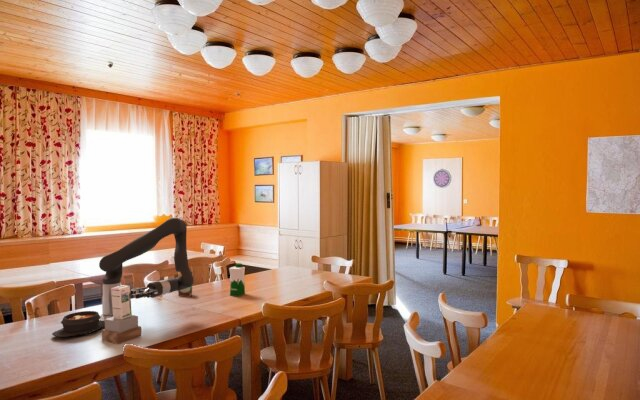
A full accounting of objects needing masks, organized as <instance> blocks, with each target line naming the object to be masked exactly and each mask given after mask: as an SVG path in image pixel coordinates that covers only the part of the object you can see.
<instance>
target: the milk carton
mask: <svg viewBox="0 0 640 400" xmlns="http://www.w3.org/2000/svg"><path fill="white" fill-rule="evenodd" d="M245 269H246V267H245V266H243V264H242V263H241V262H240V263H235V266H231V267H229V268H228V271H229V275H230V276H229V280H230V281H229V282H230V283H229V285H230V288H229V296H233V297H241V296H243V295H245V294H246V291H245V289H246V288H245V285H246V284H245V271H246V270H245Z"/></svg>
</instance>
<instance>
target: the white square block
mask: <svg viewBox="0 0 640 400" xmlns="http://www.w3.org/2000/svg"><path fill="white" fill-rule="evenodd" d="M104 321H105V326H104V329H105V330H108V331H112V332H117V333H121V332H124V331H127V330H130V329H133V328H136V327H138V326H139V315H133V314H132V316H130V317H127V318H124V319H122V320H121V319H114V318H113V316H110V317H106V318H104Z"/></svg>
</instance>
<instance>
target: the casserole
mask: <svg viewBox="0 0 640 400" xmlns="http://www.w3.org/2000/svg"><path fill="white" fill-rule="evenodd" d="M101 316H102V315H100V314H99V312H98V311H95V310H85V311H84V310H83V311H82V310H81V311H78V312H77V311H75V312H72V313H69V314H66V315H64V316H63V318H62V320H61V321H60V324H61V325H62V328H60V329H58V330H56V331H54V332H52V334H51V335H52V336H53V337H58V338H67V337H68V338H69V337H72V336H74V337H75V336H77V337H78V336H84V335H88V334H91V333H94V332H95V331H98V330H100V329H102V328H103V327H105V320H101Z"/></svg>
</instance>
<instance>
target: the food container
mask: <svg viewBox="0 0 640 400" xmlns="http://www.w3.org/2000/svg"><path fill="white" fill-rule="evenodd" d="M194 283H195V282H193V285H194ZM193 285H192V286H191V287H189V288H186V289H183V290H179V291H177V293H178V296H181V297H188V298H189V297H190V298H191V297H192V295H193Z"/></svg>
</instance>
